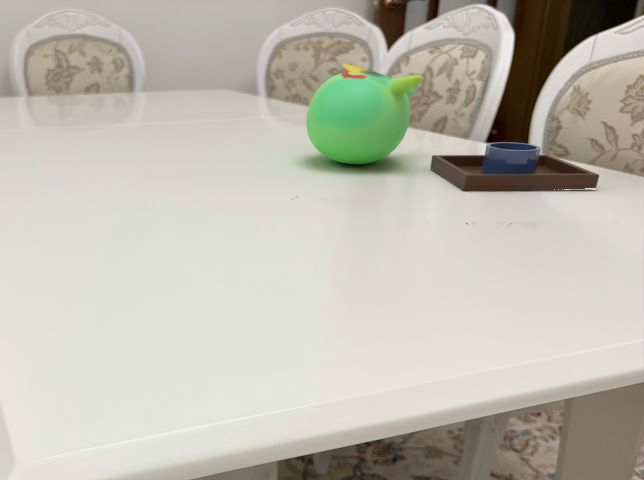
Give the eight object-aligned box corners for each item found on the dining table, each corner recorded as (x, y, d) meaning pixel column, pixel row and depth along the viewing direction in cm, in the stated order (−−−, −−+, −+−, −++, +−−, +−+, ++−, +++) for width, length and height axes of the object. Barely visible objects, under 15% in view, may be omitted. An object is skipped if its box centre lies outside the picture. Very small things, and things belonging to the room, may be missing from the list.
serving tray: (545, 168, 104) (548, 154, 104) (595, 190, 91) (599, 174, 90) (430, 169, 105) (432, 155, 104) (463, 191, 92) (466, 175, 91)
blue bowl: (521, 169, 101) (527, 142, 99) (543, 180, 95) (549, 150, 93) (473, 170, 101) (478, 142, 99) (492, 180, 95) (498, 150, 93)
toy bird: (308, 151, 120) (315, 60, 113) (408, 154, 116) (421, 61, 109) (298, 171, 104) (305, 67, 97) (413, 176, 100) (429, 69, 94)
